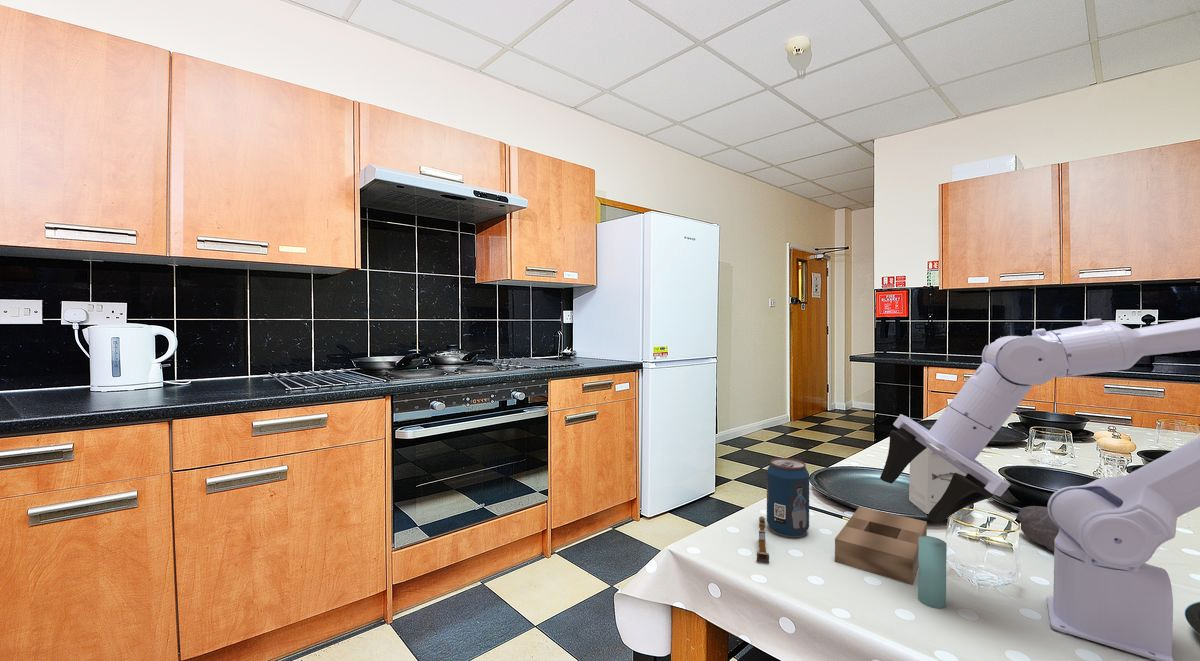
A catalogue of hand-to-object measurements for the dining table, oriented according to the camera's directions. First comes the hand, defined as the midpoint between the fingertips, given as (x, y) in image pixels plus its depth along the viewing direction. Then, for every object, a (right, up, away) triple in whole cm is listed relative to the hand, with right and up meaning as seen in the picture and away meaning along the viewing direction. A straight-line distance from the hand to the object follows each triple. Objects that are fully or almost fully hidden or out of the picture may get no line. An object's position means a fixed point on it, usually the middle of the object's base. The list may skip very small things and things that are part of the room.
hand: (908, 499), depth 65 cm
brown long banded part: (-16, -13, +11) cm, 23 cm away
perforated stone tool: (+31, -12, +10) cm, 34 cm away
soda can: (-9, -12, +19) cm, 24 cm away
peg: (+1, -12, -2) cm, 13 cm away
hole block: (+3, -12, +11) cm, 16 cm away
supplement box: (+24, -12, +27) cm, 38 cm away
